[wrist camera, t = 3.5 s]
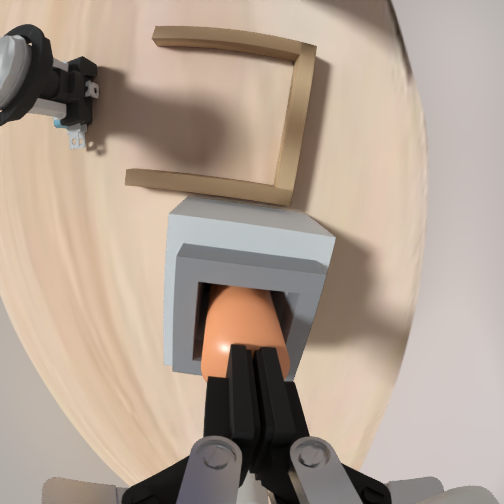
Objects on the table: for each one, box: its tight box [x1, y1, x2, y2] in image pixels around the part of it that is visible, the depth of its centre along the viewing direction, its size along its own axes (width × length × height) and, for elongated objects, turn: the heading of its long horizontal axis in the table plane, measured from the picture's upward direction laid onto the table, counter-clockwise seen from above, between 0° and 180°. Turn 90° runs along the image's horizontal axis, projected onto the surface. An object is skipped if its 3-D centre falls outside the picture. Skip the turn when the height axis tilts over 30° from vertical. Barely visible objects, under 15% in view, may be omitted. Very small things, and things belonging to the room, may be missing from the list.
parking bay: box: [125, 26, 317, 206], centre depth 16 cm, size 11×10×2 cm
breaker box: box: [163, 196, 336, 381], centre depth 16 cm, size 9×8×8 cm
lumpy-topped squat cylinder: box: [236, 471, 269, 504], centre depth 27 cm, size 10×13×9 cm
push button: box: [0, 24, 99, 149], centre depth 10 cm, size 7×5×10 cm
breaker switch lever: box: [201, 283, 290, 382], centre depth 14 cm, size 3×3×8 cm
